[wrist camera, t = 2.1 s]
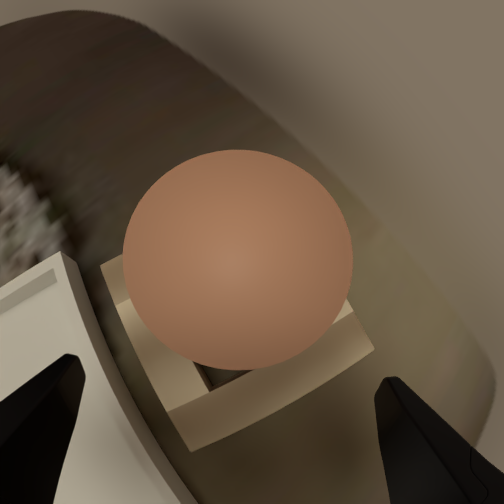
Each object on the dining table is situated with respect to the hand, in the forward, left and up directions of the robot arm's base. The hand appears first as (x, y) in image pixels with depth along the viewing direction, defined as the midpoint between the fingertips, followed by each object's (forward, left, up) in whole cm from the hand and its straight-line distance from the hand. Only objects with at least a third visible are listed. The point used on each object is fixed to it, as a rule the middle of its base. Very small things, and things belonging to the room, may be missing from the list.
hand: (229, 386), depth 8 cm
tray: (+1, +13, -10) cm, 17 cm away
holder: (+3, -2, -10) cm, 11 cm away
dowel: (+3, -2, -10) cm, 11 cm away
